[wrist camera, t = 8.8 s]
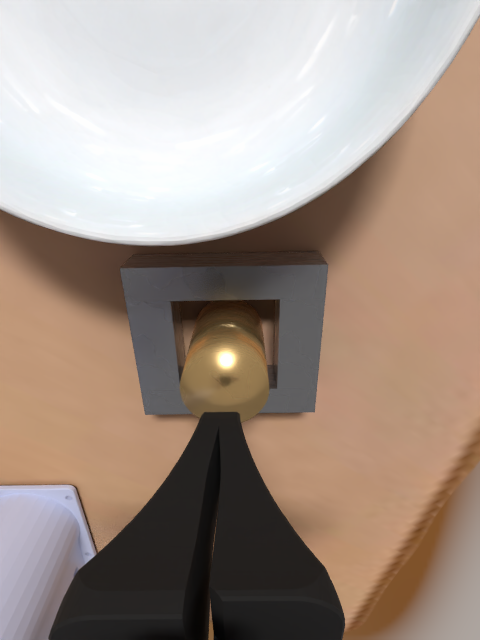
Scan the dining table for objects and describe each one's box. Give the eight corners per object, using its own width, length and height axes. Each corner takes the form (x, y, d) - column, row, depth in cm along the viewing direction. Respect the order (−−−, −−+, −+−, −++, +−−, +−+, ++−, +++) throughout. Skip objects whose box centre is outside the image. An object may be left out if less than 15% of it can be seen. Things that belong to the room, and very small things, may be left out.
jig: (307, 387, 23) (314, 412, 21) (153, 389, 23) (145, 414, 21) (318, 251, 19) (328, 264, 17) (133, 254, 19) (119, 268, 17)
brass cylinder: (261, 356, 22) (268, 424, 17) (197, 357, 22) (183, 425, 17) (262, 297, 20) (270, 350, 15) (192, 298, 21) (175, 352, 15)
